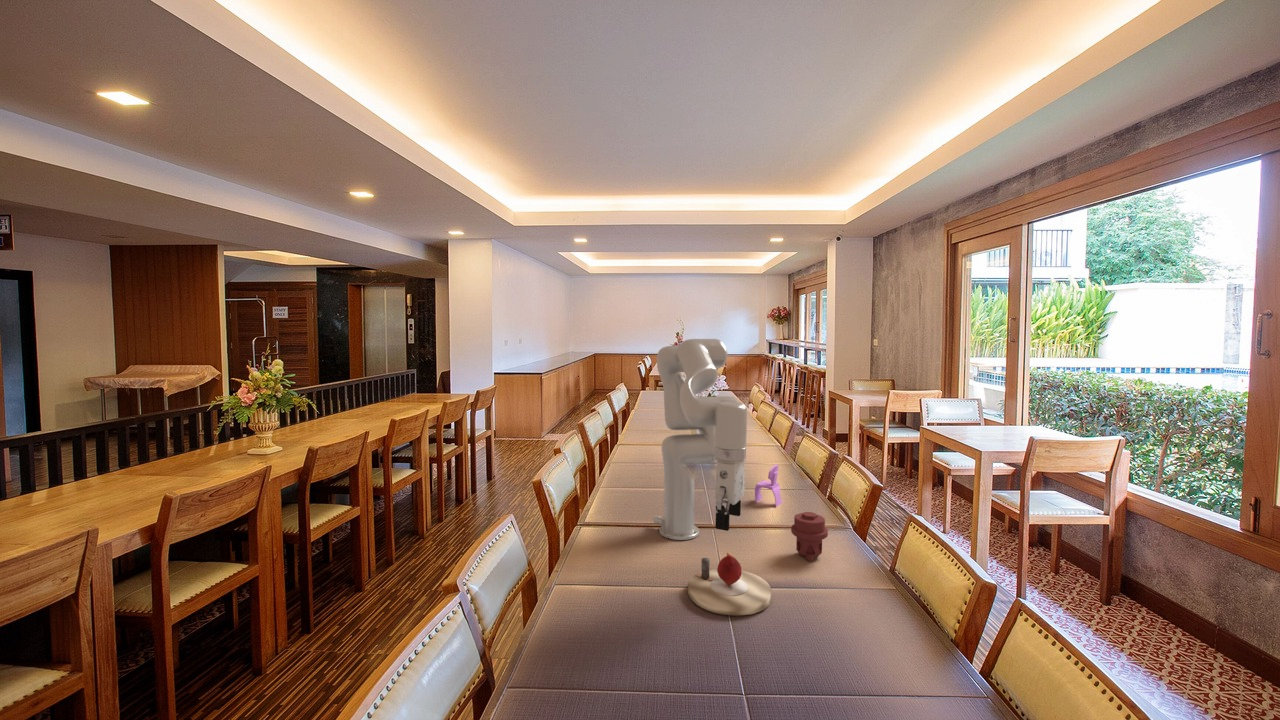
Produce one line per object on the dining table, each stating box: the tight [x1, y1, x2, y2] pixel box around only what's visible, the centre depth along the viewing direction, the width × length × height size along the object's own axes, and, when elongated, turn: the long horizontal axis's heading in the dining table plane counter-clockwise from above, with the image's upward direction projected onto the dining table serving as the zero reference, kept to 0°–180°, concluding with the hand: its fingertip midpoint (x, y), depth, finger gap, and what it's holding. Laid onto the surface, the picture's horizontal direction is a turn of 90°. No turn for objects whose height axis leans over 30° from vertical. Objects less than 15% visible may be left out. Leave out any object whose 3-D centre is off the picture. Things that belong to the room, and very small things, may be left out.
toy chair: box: [754, 464, 783, 508], centre depth 199 cm, size 8×9×15 cm
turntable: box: [687, 557, 772, 616], centre depth 130 cm, size 20×20×6 cm
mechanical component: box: [790, 511, 829, 562], centre depth 152 cm, size 12×10×10 cm
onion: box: [716, 552, 743, 585], centre depth 130 cm, size 6×6×8 cm
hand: (728, 521), depth 130 cm, fingers open, 9 cm apart
